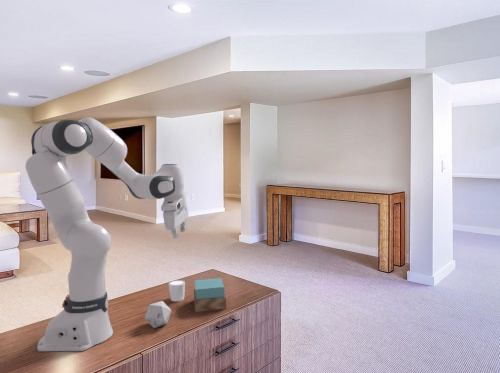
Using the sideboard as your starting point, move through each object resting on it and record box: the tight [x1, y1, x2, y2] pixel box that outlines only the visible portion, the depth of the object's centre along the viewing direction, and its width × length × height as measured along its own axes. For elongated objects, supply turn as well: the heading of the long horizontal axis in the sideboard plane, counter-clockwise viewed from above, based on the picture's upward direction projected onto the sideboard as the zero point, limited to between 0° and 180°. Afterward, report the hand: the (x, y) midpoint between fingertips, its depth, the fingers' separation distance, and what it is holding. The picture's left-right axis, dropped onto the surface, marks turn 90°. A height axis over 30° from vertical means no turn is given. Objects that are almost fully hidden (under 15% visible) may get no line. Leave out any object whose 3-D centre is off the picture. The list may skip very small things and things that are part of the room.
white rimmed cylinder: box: [168, 279, 186, 302], centre depth 152 cm, size 7×7×7 cm
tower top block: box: [194, 277, 226, 300], centre depth 145 cm, size 11×11×4 cm
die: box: [144, 300, 172, 329], centre depth 129 cm, size 8×9×10 cm
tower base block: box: [193, 288, 227, 313], centre depth 146 cm, size 12×12×5 cm
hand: (179, 234), depth 152 cm, fingers open, 8 cm apart
